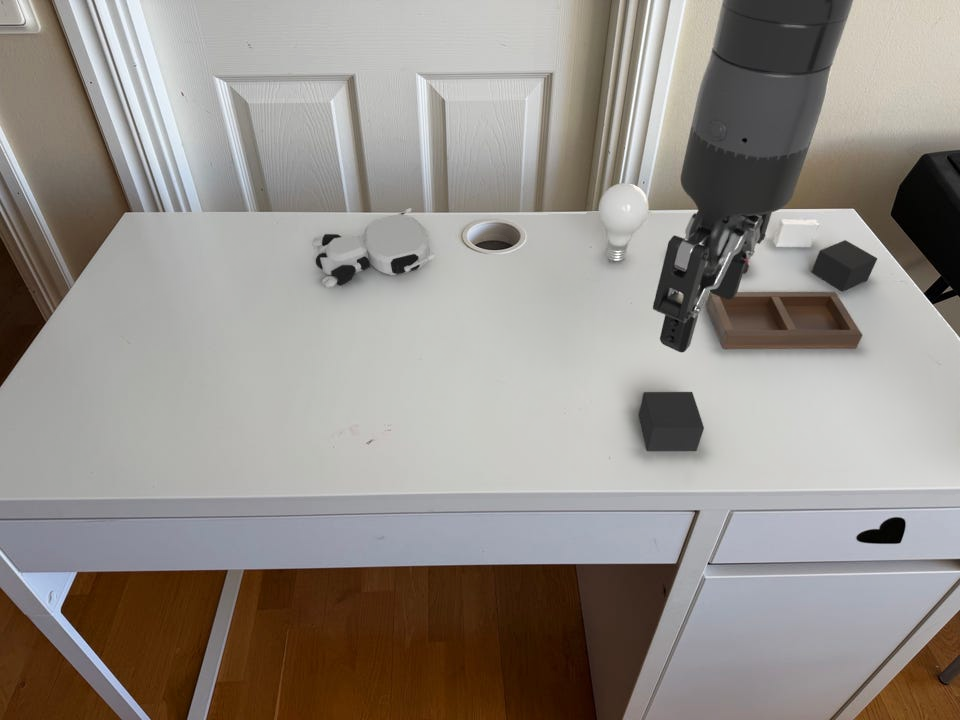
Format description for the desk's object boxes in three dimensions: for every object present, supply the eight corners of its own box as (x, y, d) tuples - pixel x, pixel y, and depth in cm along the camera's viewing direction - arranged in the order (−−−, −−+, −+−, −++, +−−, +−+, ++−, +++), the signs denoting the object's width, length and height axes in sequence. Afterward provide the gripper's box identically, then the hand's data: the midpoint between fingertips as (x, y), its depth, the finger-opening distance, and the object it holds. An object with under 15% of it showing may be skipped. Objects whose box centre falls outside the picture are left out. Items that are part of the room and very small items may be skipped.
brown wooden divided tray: (856, 348, 81) (863, 335, 80) (723, 349, 81) (727, 335, 80) (829, 304, 87) (835, 291, 86) (705, 305, 87) (709, 291, 86)
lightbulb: (593, 272, 92) (604, 198, 85) (589, 245, 97) (599, 173, 89) (642, 273, 92) (656, 199, 85) (635, 246, 97) (648, 174, 89)
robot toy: (327, 307, 88) (441, 279, 91) (319, 279, 85) (437, 250, 87) (314, 255, 96) (418, 230, 99) (306, 227, 93) (414, 202, 96)
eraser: (810, 247, 97) (819, 224, 94) (775, 247, 97) (783, 224, 94) (807, 242, 98) (816, 219, 95) (773, 242, 98) (780, 219, 95)
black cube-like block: (685, 414, 73) (692, 391, 71) (696, 451, 70) (704, 428, 67) (638, 415, 73) (643, 391, 71) (646, 451, 70) (652, 428, 67)
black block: (835, 261, 94) (845, 239, 92) (867, 280, 91) (878, 258, 89) (810, 272, 92) (819, 250, 90) (842, 292, 89) (852, 269, 87)
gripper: (764, 185, 39) (702, 388, 50) (846, 106, 48) (777, 295, 59) (646, 147, 43) (612, 344, 54) (742, 79, 51) (695, 263, 62)
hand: (698, 319), depth 56 cm, fingers open, 8 cm apart
